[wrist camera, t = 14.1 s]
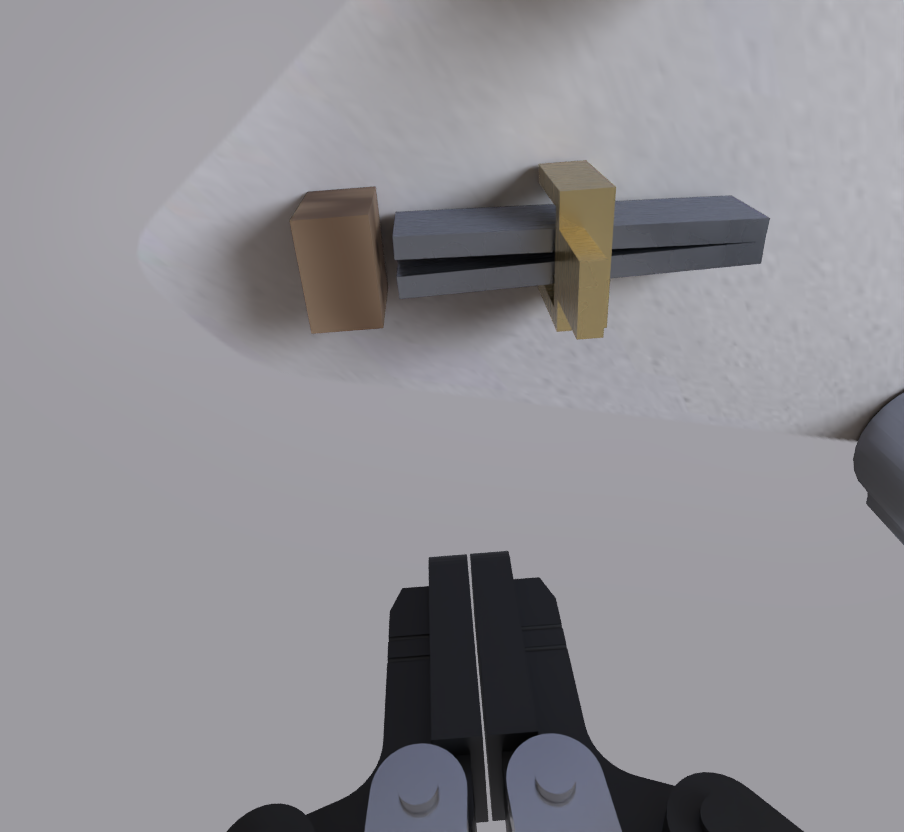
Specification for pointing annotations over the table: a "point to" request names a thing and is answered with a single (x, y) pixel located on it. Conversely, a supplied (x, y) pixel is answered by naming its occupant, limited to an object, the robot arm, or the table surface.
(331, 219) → the block
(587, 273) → the collar
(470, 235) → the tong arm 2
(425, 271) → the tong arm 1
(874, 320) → the table surface
